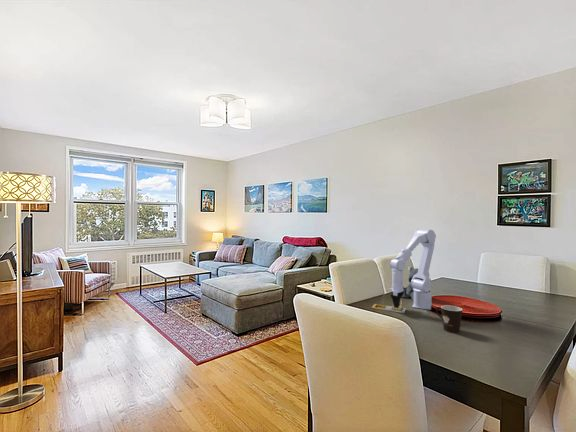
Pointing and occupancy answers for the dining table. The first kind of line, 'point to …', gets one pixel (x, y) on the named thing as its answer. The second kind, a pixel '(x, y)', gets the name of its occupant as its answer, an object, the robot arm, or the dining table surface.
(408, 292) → the koala plush
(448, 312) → the coffee mug
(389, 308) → the rail
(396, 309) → the brass block
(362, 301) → the dining table surface
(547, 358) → the dining table surface
